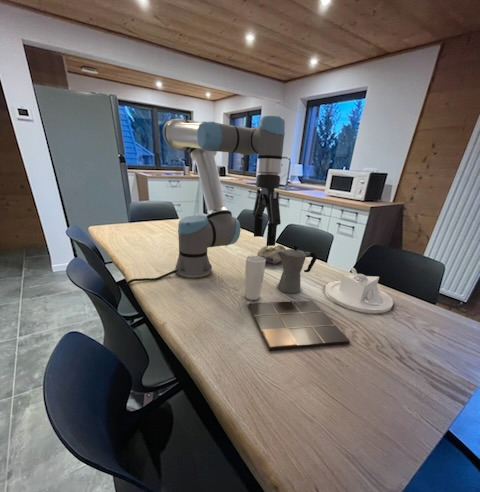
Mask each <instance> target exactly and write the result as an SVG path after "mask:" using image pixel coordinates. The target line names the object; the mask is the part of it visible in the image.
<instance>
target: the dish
mask: <svg viewBox="0 0 480 492" xmlns="http://www.w3.org/2000/svg"><path fill="white" fill-rule="evenodd" d="M350 270H351V273H352V275H351V274H343V275H342V277H341V280H335V281H329V282H328V283H327V284H326V285H325V287H324V294H325V296H326V297H327V298H328V299H329V300H331V301H332V302H333V303H335V304H336V305H339V306H341V307H343V308H346V309H349V310H351V311H356V312H359V313H365V314H384V313H387V312H388V311H391V309H392V307H393V306H394V305H393V304H394V300H393V298H392V297H391V296H390V295H389V294H388V293H387V292H385V291H383V290H382V289H380V288H379V287H378V286H377V285H378V283H379V279H380V276H372V275H371V276H370V275H365V274H363V273H358V272H357V269H356V268H355V267H353V266H350Z"/></svg>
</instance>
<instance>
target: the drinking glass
mask: <svg viewBox="0 0 480 492" xmlns="http://www.w3.org/2000/svg"><path fill="white" fill-rule="evenodd" d="M244 268H245V269H244V271H245V273H244V274H245V275H244V276H245V279H244V280H245V281H244V282H245V284H244V285H245V286H244V287H245V290H244V291H245V293H244V296H245V298H246V299H247V300H250V301H257V300H259V299H260V297H261V290H262V286H263V280H264V275H265V270H266V260H265V258H263V257H260V256H257V255H249V256H247V257H246V260H245V267H244Z"/></svg>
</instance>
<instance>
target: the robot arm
mask: <svg viewBox="0 0 480 492" xmlns="http://www.w3.org/2000/svg"><path fill="white" fill-rule="evenodd" d="M285 127H286V121H285V119H284V117H282V116H279V115H264V116H262V117H261V118H260V119H259V125H258V126H257V127H245V126H240V125H239V126H238V125H233V124H226V123H221V122H215V121H197V120H190V119H185V118H172V119H170V120H168V121H166V122H165V124H164V125H163V126H162V137H163V140H164V141H165V142H164V143H166V144H167V146H169V147H170V148H172V149H174V150H177V151H181V152H188V153H189V156H190V158H191V160H192V161H194V162H195V165H196V170H197V174H198V175H197V176H198V178H199V182H200V187H201V191H202V195H203V198H204V203H205V208H206V212H207V214H206V215H196V214H195V215H188V216H185V217H183V218H181V219H180V220H179V221H178V224H177V225H178V226H177V228H178V229H177V235H178V254H179V255H178V258H177V261H176V263H175V268H174V270H172V271H169V272H167V273H164V274H163V275H160V276H158V277H152V278H151V277H144V278H132V279H130V280H128V281H127V282H126V283H125V285H124V286H126V287H127V286H129V285H130V284H131V283H133V282H144V281H145V282H149V281H150V282H153V281H158V280H161V279H163V278H166V277H169V276H170V275H173V274H176V275H177V276H178V277H180V278H183V279H190V280H197V279H203V278H206V277H209V276H210V275H211V274H212V265H211V263H210V259H209V257H208V248H215V247H223V246H226V247H227V246H231V245H234V244H236V243H237V242H238V241H239V238H240V235H241V223H240V221H239V219H238V218H237V217H234V216H233V213H232V211H231V210H230V209H228V208H227V203H226V199H225V194H224V191H223V187H222V182H221V178H220V173H219V170H218V165H217V162H216V155H217V153H218V152H221V153H232V154H239V155H242V156H252V155H257V158H256V160H257V161H256V173H257V175H256V182H255V186H256V188H259V189H256V197H255V202H254V207H253V211H252V216H253V217H254V224H253V226H254V227H253V237H254V238H261V237H262V232H263V218H264V215H263V214H264V212H265V210H266V212H267V213H266V214H267V219H268V223H267V233H266V246H268V247H275V246H276V240H277V228H278V226H279V225H280V226H281V210H280V200H279V199H280V192H279V191H275V190H276V189H279V188H280V186H281V185H280V184H281V175H279V174H281V173H282V172H281V171H282V167H283V163H282V159H283V150H284V143H285V142H284V141H285V134H286V132H285V131H286V130H285V129H286V128H285Z"/></svg>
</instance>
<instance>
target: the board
mask: <svg viewBox="0 0 480 492" xmlns="http://www.w3.org/2000/svg"><path fill="white" fill-rule="evenodd" d="M247 304H248V305H247V306H248V309H249V311H250V312H251V315H252V317H253V319H254V321H255V323H256V325H257V327H258V329H259V331H260V334H261V336H262V338H263V339H264V343H265V344H266V346H267V348H268V351H270V352H271V351H283V350H294V349H305V348H315V347H328V346H338V345H339V346H340V345H349V344H350V342H351V341H350V339H349V338H348V337H347V336H346V335H345V334H344V333H343V332H342V331H341V330H340V329H339V328H338V326H337V325H336V324H335V323H334V322H333V321H332V320H331V319H330V318H329V317H328V315H326V314H325V313H324V311H323V310H322V309H321V308H320V307H319V306H318V305H317V304H316V303H315V302H314V301H313V300H294V301H293V300H291V301H270V302H269V301H268V302H251V303H250V302H249V303H247Z"/></svg>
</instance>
